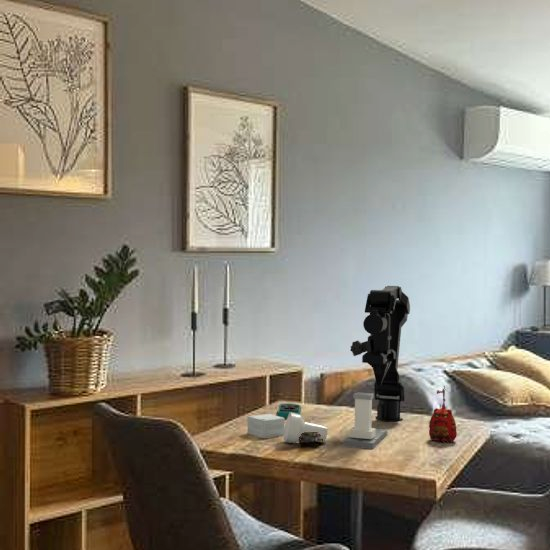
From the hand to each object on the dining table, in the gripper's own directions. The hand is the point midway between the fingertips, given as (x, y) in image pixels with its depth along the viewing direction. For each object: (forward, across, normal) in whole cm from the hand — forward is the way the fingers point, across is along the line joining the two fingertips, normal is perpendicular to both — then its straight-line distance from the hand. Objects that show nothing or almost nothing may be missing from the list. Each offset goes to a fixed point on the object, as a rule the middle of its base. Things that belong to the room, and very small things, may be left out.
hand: (378, 385), depth 235 cm
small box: (+14, +20, -28) cm, 37 cm away
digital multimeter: (+14, -11, -31) cm, 36 cm away
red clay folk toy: (+14, +6, +20) cm, 25 cm away
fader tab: (+12, +20, 0) cm, 23 cm away
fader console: (+13, +16, 0) cm, 21 cm away
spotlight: (+14, +26, -15) cm, 33 cm away
